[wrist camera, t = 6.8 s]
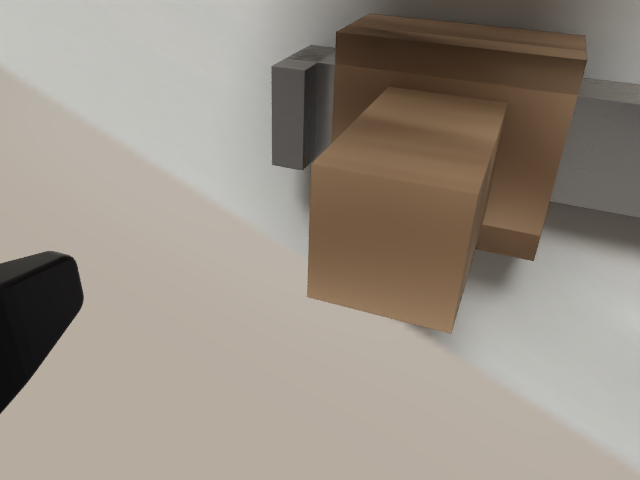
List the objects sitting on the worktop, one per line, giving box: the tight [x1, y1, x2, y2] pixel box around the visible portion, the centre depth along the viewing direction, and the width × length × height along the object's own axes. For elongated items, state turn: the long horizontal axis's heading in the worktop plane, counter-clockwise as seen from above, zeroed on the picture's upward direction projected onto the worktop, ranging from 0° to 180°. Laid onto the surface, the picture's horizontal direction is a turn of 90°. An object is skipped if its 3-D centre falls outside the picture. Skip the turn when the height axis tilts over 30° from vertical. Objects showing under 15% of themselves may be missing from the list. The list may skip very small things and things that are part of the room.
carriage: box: [307, 14, 587, 334], centre depth 14 cm, size 5×6×8 cm
